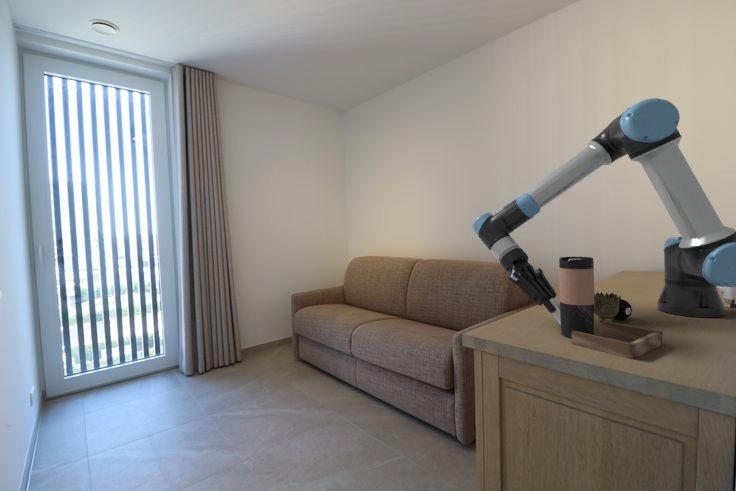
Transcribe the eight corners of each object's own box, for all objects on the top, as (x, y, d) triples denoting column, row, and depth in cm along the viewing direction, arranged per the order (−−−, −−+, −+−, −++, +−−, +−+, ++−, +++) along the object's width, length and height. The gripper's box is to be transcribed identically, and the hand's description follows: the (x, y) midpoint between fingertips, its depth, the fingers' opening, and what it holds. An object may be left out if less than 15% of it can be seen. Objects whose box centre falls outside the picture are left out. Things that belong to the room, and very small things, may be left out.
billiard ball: (620, 322, 97) (620, 301, 97) (601, 317, 103) (601, 297, 103) (637, 320, 99) (637, 300, 99) (617, 315, 105) (617, 296, 104)
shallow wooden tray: (602, 331, 90) (602, 320, 90) (662, 344, 80) (662, 331, 79) (571, 343, 83) (571, 331, 82) (632, 359, 72) (632, 345, 72)
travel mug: (591, 332, 90) (591, 256, 89) (597, 341, 83) (596, 259, 82) (558, 329, 93) (557, 256, 92) (561, 338, 86) (560, 259, 86)
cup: (626, 325, 94) (626, 297, 94) (596, 325, 96) (596, 297, 96) (612, 318, 102) (612, 291, 101) (585, 318, 103) (585, 292, 103)
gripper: (516, 261, 110) (569, 324, 96) (488, 264, 103) (541, 333, 89) (531, 245, 105) (589, 309, 91) (502, 247, 98) (561, 317, 85)
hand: (565, 321), depth 90 cm, fingers closed
